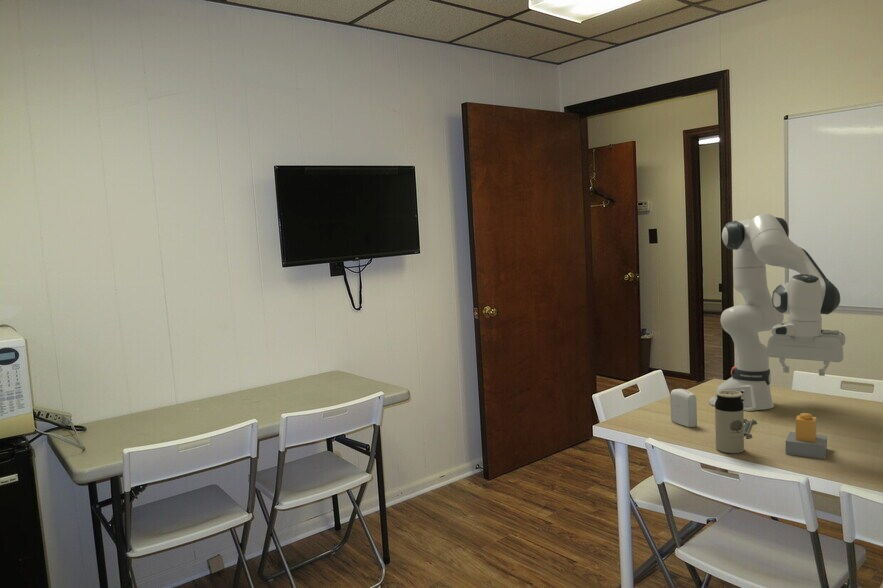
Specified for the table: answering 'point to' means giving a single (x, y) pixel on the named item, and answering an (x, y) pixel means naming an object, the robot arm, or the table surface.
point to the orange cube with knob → (806, 427)
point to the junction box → (806, 446)
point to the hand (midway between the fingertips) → (803, 373)
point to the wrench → (748, 427)
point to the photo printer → (683, 407)
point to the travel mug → (729, 421)
